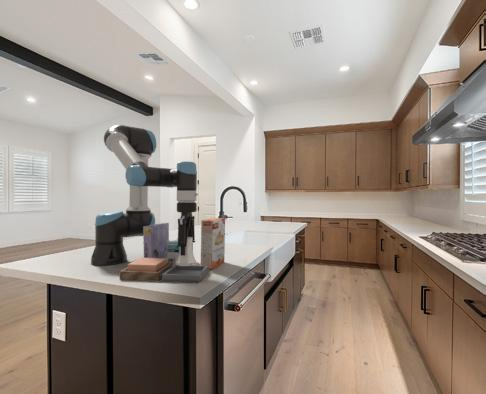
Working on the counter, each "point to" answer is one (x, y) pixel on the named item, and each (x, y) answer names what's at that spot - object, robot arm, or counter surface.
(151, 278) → the wooden square frame
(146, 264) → the orange square slab
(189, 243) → the vase
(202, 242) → the cracker box
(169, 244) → the light bulb box
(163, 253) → the cake pan box
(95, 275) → the counter surface
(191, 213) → the robot arm
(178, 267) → the tray
